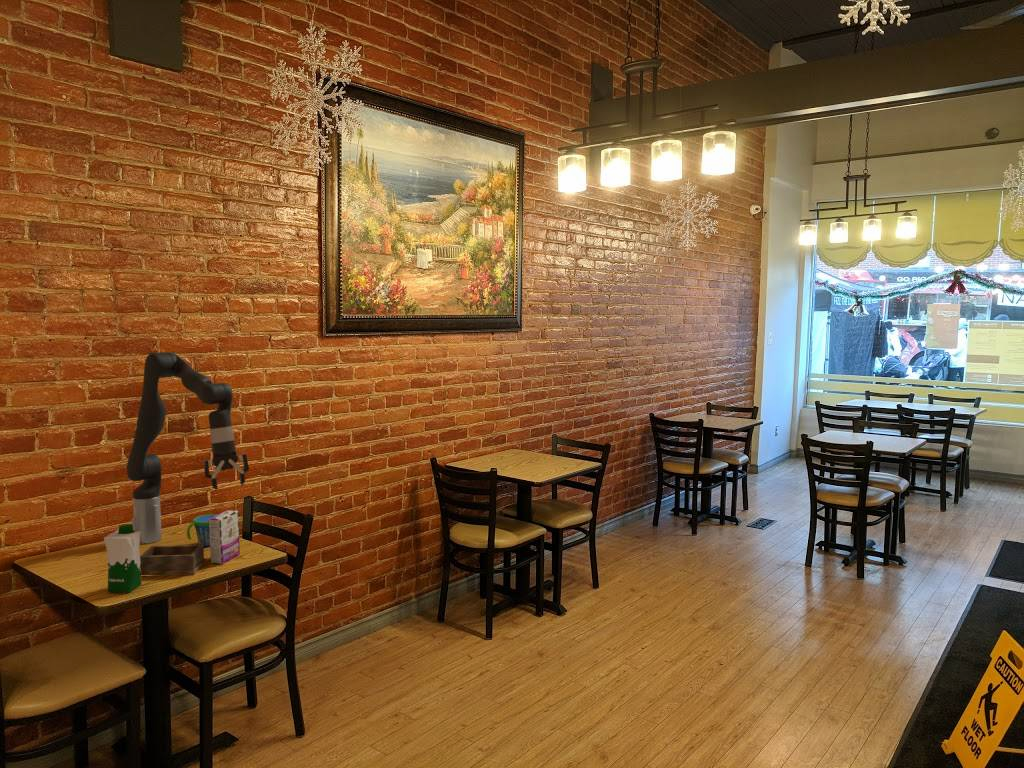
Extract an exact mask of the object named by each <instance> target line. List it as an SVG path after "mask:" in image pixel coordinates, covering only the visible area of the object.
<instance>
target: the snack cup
mask: <svg viewBox="0 0 1024 768" xmlns="http://www.w3.org/2000/svg"><path fill="white" fill-rule="evenodd" d="M218 514H219V513H218ZM218 514H213V513H211V514H209V513H208V514H203V515H198V516H196V517H195V518H193V520H192V522H190V523H189V525H188V527H187V529H186V537H187V539H188V540H191V539H192V538H191V533H190V531H191V529H192V527H193V526H194V529H195V531H196V532H195V533H196V538H197V543H198V545H204V547H205V546H206V547H210V534H209V519H210V518H212V517H214V516H216V515H218Z"/></svg>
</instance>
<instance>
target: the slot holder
mask: <svg viewBox="0 0 1024 768" xmlns="http://www.w3.org/2000/svg"><path fill="white" fill-rule="evenodd" d="M204 548H205V546H204V545H199V544H181V545H178V544H176V545H175V544H174V545H151V546H150V547H149V548H148V549H146V551H144V552H143V553H141V554H140V567H141V575H165V576H186V575H187V576H193V575H196V573H197V572H198V571H199V570H200V569H201V568H202V567H203V566H204V565H205V563H206V558H205V550H204Z"/></svg>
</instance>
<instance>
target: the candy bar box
mask: <svg viewBox="0 0 1024 768" xmlns="http://www.w3.org/2000/svg"><path fill="white" fill-rule="evenodd" d="M239 525H240V524H239V511H238V510H229V509H228V510H225V511H222V512H221V513H218V515H216V516H214V517H212V518H210V519H209V534H210V546H209V550H210V563H211V564H212V563H217V564H216V565H224V564H225V562H226V563H228V562H229V561H231V560H233V559H235V558H236V557H238V556H240V555H241V552H240V551H241V550H240V531H239V530H240V528H239ZM237 555H238V556H237ZM232 558H233V559H232ZM230 559H231V560H230Z"/></svg>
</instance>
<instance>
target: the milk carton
mask: <svg viewBox="0 0 1024 768" xmlns="http://www.w3.org/2000/svg"><path fill="white" fill-rule="evenodd" d="M140 532H141V531H134V530H133V525H132V523H131V524H130V523H125V524H121V525H118V530H116V531H114V532H112V533H110V534H108V535H106V536H104V537H103V540H104V545H105V548H106V560H107V593H108V592H114V593H113V594H131V591H132V592H133V591H134V590H136V589H138V588H139V587H140V586H142V576H141V567H140V556H141V551H140V550H141V547H140V546H141V545H140ZM138 586H139V587H138ZM137 587H138V588H137Z"/></svg>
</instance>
